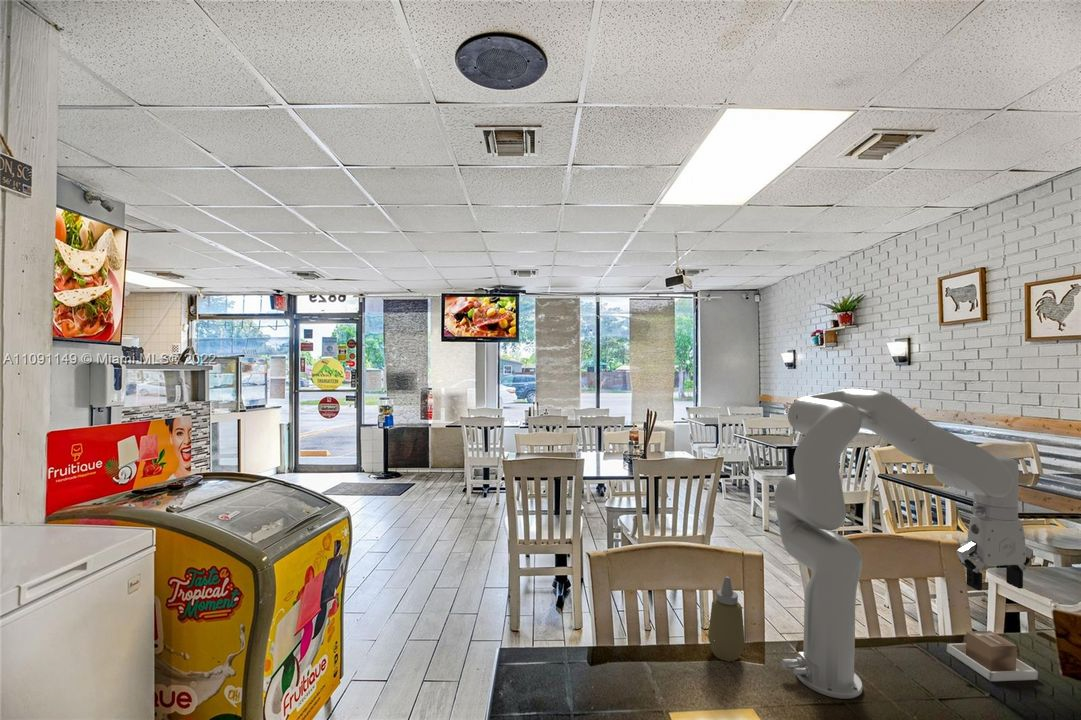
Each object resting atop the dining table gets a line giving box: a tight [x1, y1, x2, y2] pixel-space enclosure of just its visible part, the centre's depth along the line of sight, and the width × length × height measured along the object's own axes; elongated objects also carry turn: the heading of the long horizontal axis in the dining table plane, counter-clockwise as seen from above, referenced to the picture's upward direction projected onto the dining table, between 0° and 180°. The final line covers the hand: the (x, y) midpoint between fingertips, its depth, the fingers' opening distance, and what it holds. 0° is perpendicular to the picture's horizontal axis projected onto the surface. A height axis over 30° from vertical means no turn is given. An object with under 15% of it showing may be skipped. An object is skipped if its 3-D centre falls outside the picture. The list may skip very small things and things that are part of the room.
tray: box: [946, 642, 1039, 682], centre depth 115 cm, size 11×11×2 cm
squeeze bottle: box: [707, 576, 746, 662], centre depth 118 cm, size 8×8×18 cm
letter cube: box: [965, 630, 1018, 672], centre depth 115 cm, size 6×6×6 cm
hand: (994, 586), depth 114 cm, fingers open, 9 cm apart
